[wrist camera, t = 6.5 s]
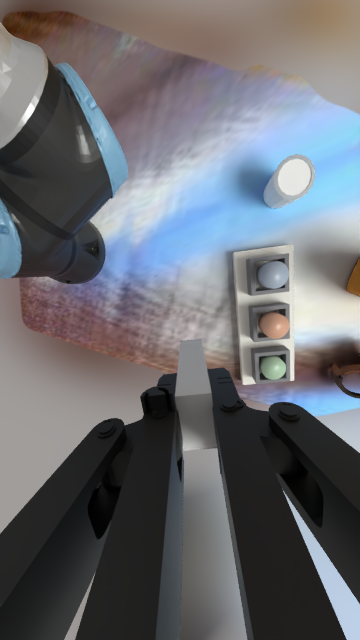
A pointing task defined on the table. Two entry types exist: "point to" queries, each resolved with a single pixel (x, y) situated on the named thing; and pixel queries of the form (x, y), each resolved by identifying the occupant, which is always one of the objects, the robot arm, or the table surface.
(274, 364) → the sage button
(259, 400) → the table surface
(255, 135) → the table surface
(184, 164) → the table surface
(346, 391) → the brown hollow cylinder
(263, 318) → the terracotta button
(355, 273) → the coffee package
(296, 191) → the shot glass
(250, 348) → the button panel
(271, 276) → the slate button
